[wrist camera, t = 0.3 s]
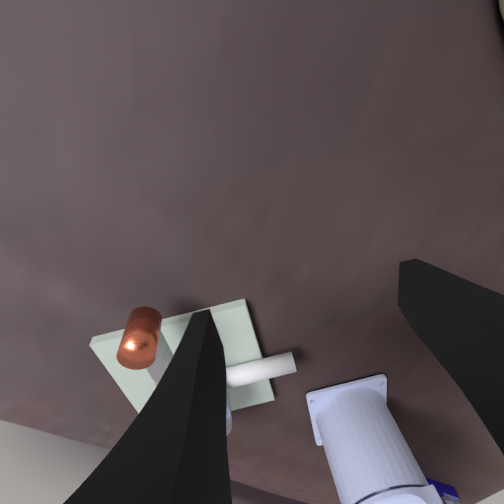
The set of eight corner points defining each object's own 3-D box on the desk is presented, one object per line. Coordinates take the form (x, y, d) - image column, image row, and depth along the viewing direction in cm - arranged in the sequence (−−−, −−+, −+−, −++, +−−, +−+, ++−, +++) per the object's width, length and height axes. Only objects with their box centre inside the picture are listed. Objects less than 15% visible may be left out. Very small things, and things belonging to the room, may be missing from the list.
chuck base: (298, 386, 30) (306, 415, 27) (152, 422, 30) (147, 455, 27) (276, 290, 24) (284, 317, 21) (92, 337, 24) (78, 369, 21)
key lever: (238, 415, 25) (241, 453, 23) (167, 432, 25) (163, 473, 23) (187, 295, 19) (183, 330, 16) (91, 319, 19) (72, 358, 16)
